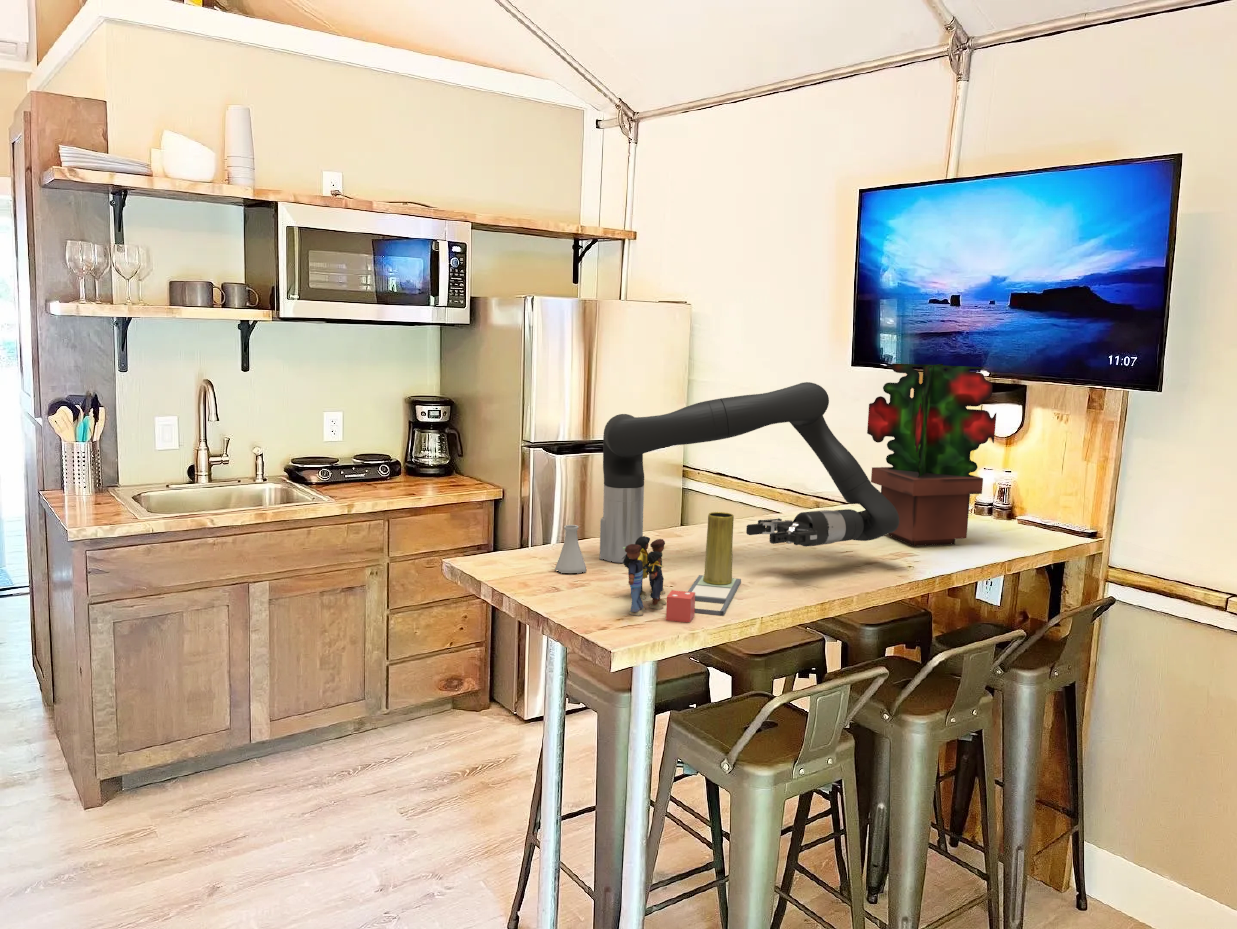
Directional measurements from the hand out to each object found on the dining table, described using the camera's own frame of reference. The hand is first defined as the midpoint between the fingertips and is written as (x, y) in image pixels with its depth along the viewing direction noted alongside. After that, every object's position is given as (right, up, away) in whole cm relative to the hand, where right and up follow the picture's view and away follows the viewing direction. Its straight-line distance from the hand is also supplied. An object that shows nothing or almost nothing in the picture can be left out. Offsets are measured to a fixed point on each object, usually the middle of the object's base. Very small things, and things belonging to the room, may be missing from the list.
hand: (758, 534), depth 205 cm
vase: (-9, -10, -3) cm, 14 cm away
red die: (-18, -14, -25) cm, 34 cm away
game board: (-11, -12, -11) cm, 19 cm away
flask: (-40, -9, +6) cm, 42 cm away
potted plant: (+48, -5, +44) cm, 65 cm away
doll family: (-25, -12, -16) cm, 32 cm away
